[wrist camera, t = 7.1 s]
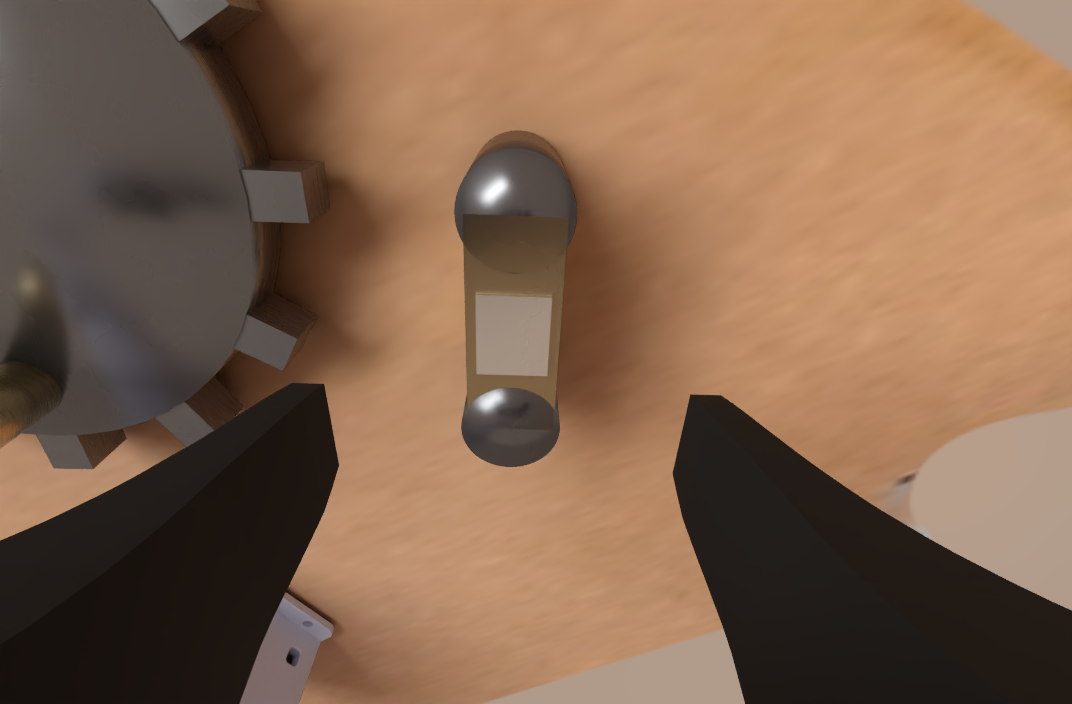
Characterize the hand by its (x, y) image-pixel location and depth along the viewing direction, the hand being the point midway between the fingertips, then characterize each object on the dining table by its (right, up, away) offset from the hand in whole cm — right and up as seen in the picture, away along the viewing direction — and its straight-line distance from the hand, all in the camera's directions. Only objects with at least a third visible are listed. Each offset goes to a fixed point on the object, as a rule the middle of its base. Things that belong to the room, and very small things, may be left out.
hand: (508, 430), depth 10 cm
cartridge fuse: (0, +4, +8) cm, 9 cm away
